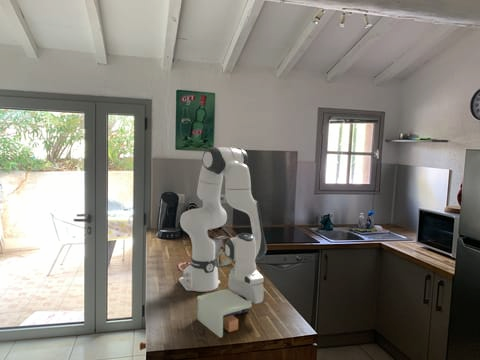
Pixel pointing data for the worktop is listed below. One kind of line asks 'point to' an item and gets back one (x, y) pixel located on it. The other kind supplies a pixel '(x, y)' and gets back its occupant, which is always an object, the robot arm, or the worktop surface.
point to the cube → (230, 323)
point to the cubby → (218, 308)
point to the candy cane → (182, 264)
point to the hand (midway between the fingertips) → (244, 305)
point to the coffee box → (221, 251)
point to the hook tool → (237, 311)
